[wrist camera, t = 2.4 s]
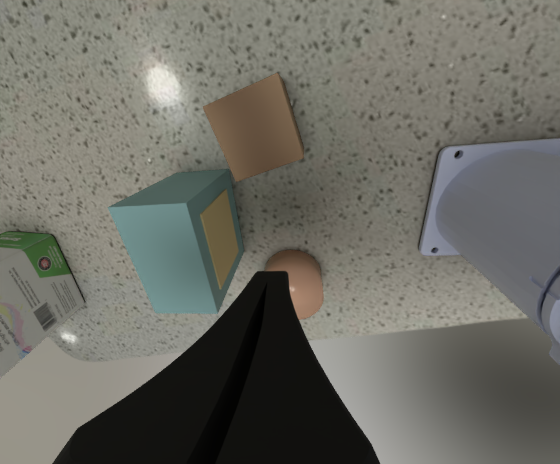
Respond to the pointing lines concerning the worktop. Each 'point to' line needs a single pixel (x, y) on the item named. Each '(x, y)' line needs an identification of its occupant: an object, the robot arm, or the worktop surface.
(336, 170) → the worktop surface
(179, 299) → the teal block
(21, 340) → the ink box
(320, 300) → the peach rounded dome
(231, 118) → the walnut cube
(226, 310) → the robot arm
